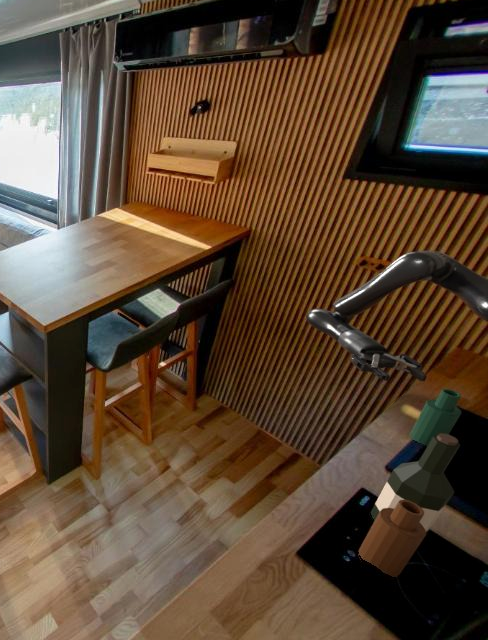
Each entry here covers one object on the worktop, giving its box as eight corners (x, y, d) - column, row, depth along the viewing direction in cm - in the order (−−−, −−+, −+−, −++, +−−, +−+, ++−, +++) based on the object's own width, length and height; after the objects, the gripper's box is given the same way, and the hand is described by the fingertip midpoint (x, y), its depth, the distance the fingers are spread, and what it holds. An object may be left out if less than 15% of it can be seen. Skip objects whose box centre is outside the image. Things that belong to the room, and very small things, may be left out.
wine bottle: (369, 527, 86) (416, 441, 73) (369, 501, 91) (414, 415, 78) (425, 553, 80) (487, 463, 67) (422, 523, 85) (480, 434, 72)
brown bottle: (388, 552, 81) (421, 497, 73) (406, 582, 76) (444, 526, 68) (352, 544, 83) (381, 489, 75) (367, 573, 79) (400, 518, 70)
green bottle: (431, 434, 103) (458, 386, 95) (447, 450, 98) (476, 402, 91) (404, 430, 105) (428, 384, 98) (418, 446, 100) (444, 398, 93)
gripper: (338, 337, 120) (380, 369, 106) (391, 336, 117) (442, 369, 102) (331, 355, 123) (371, 388, 109) (383, 354, 120) (431, 388, 106)
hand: (405, 378), depth 106 cm, fingers open, 8 cm apart
